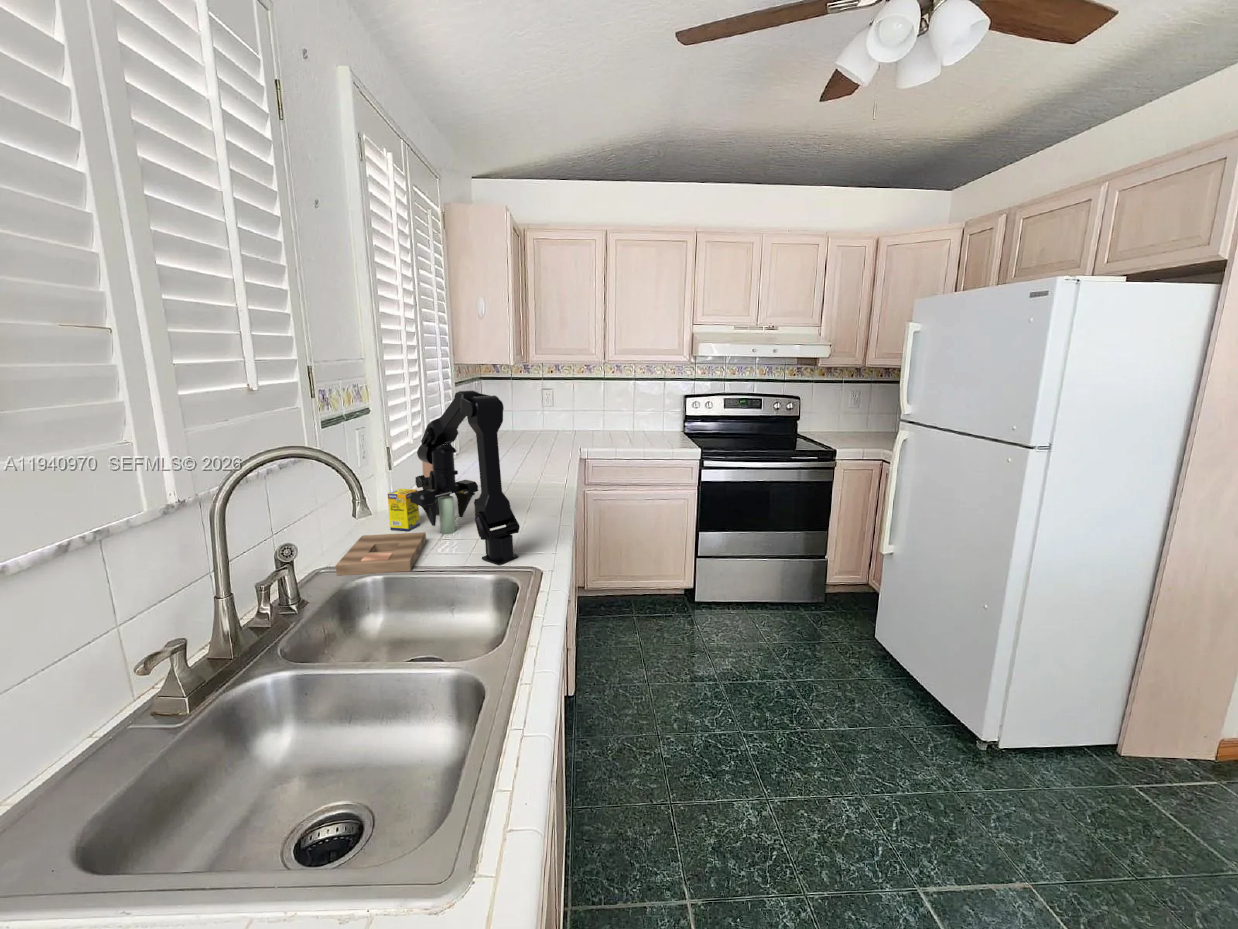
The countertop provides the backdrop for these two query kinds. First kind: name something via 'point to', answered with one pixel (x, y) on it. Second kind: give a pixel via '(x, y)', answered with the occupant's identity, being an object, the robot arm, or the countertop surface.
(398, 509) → the supplement box
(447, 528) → the peg
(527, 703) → the countertop surface
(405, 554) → the hole plate
